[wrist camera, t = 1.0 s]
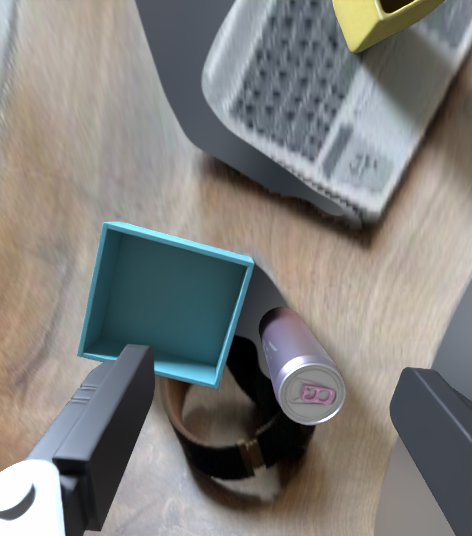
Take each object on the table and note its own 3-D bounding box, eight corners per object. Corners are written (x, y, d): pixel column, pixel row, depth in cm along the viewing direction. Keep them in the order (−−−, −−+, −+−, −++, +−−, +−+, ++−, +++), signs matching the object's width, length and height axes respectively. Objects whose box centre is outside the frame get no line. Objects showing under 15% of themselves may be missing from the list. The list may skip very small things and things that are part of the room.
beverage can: (296, 349, 38) (339, 432, 23) (254, 343, 37) (270, 422, 23) (306, 309, 37) (356, 368, 22) (263, 302, 36) (285, 356, 22)
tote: (251, 257, 35) (254, 263, 31) (219, 368, 38) (217, 390, 33) (121, 221, 34) (102, 221, 29) (97, 338, 37) (76, 356, 32)
